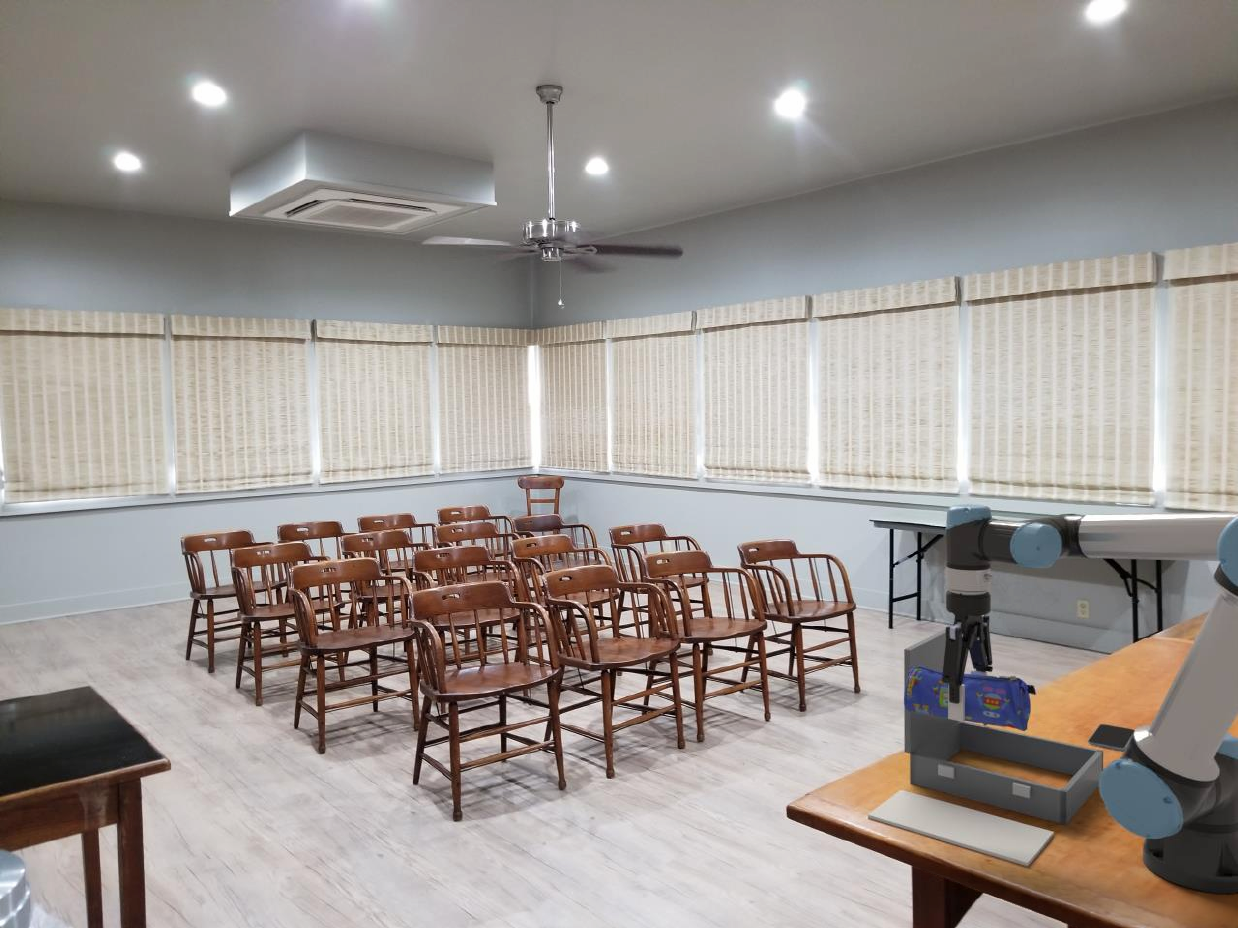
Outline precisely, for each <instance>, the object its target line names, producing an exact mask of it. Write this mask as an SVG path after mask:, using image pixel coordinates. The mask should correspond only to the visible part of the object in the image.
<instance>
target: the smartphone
mask: <svg viewBox="0 0 1238 928" xmlns="http://www.w3.org/2000/svg"><path fill="white" fill-rule="evenodd" d="M1135 730H1136V729H1133V728H1130V727H1122V726H1116V725H1111V724H1105V723H1100V724H1099V725H1098V726H1097V727H1096V729H1095V730H1094V731H1093V733H1092V734H1091V735H1090V737H1089V738H1088V740H1087V744H1088V743H1089V744H1091V745H1090V746H1092V745H1095V746H1094V747H1097V746H1100V747H1099V748H1102V747H1105V748H1104V749H1107V748H1109V749H1108V750H1112V749H1114V750H1113V751H1118V750H1119V751H1118V752H1124V751H1125V749H1126V747H1127V745H1128V743H1129V741H1130V739H1131V737H1132V735H1133V733H1134V731H1135ZM1089 744H1088V745H1089Z"/></svg>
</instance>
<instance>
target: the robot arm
mask: <svg viewBox="0 0 1238 928" xmlns="http://www.w3.org/2000/svg"><path fill="white" fill-rule="evenodd" d="M944 531H945V543H946V545H945V546H946V548H945V549H946V562H945V563H946V564H945V587H946V588H947V589H948V590H947V591H946V592H945V608H946V610H947V612H948V613H952V614H953V615H954V621H953V624H952V626H953V627H951V626H950V625H946V627H945V629H946V644H945V654H944V664H943V674H942V682H943V683H948V719H952V720H956V721H960V722H964V721H965V685H963V684H962V682H963V677H964V674H965V671H966V666H967V661H968V657H969V656H970V659H971V664H972V669H971V670H970V674H976V675H982V676H988V673H992V672H993V669H994V668H993V666H992V665H993V655H992V653H993V652H992V646H991V645H992V643H991V631H990V619H991V618H990V615H988V614H990V612H991V607H992V606H991V603H992V600H991V596H992V595H991V593H990V592H989V590H991V581H992V580H993V579H994V576H993V574H991V569H992V565H991V564H992V562H993V563H1000V564H1007V565H1014V566H1019V567H1025V568H1027V569H1034V568H1035V569H1048V568H1051V567H1052V566H1054V564H1055V563H1056V562H1057V561H1059V560H1060V559H1117V560H1118V559H1127V560H1160V561H1162V560H1163V561H1164V560H1165V561H1169V560H1170V561H1197V562H1199V561H1203V562H1209V561H1210V562H1219V564H1218V565H1217V567H1216V570H1215V572H1214V574H1213V576H1212V580H1213V582H1214V584H1215V586H1216V588H1217V590H1218V593H1217V596H1216V598H1215V599H1214V601H1213V604H1212V606H1211V607H1210V610H1209V611H1208V613H1207V614H1206V615H1207V616H1206V617H1205V619H1204V621H1203V623H1202V625H1201V627H1200V628H1199V631H1198V633H1197V635H1196V636H1195V638H1194V641H1193V643H1191V644H1192V645H1191V647H1190V648H1189V650H1188V652H1187V654H1186V656H1185V658H1184V660H1183V662H1182V664H1181V665H1180V667H1179V670H1178V671H1177V673H1176V676H1175V677H1174V679H1173V681H1172V683H1171V685H1170V687H1169V689H1168V690H1167V693H1166V695H1165V697H1164V699H1163V701H1162V703H1161V704H1160V706H1159V708H1158V710H1157V712H1156V715H1155V716H1154V718H1153V720H1152V721H1151V722H1152V723H1151V724H1147V725H1142V726H1141V725H1140V726H1138V727H1137V728H1136V729H1134V730H1135V731H1134V733H1133V735H1132V737H1131V739H1130V741H1129V743H1128V745H1127V747H1126V749H1125V751H1123V752H1122V755H1121V756H1120V757H1119V758H1118V759H1113V760H1112V761H1111V762H1109V763H1108V764H1107V765H1106V766H1105V767H1103V771H1102V773H1101V775H1100V778H1099V786H1098V791H1099V796H1100V798H1101V799H1102V801H1103V803H1104V806H1105V809H1106V811H1107V813H1108V814H1109V815H1110V816H1111V818H1113V820H1114V821H1115V822H1116V823H1118V825H1120V826H1121V827H1122V828H1123V829H1125V830H1126V831H1128V832H1130V833H1131V834H1133V835H1134V836H1135V835H1136V836H1137V837H1140V838H1143V839H1144V841H1143V845H1142V860H1143V861H1142V862H1143V863H1144V865H1145V866H1146V867H1147V868H1148V869H1149V870H1150V871H1151V872H1153V873H1154V874H1155V875H1158V876H1159V877H1160V878H1163V879H1164V880H1167V881H1168V882H1170V883H1173V884H1176V885H1177V886H1178V885H1179V886H1182V887H1184V888H1189V889H1192V890H1197V891H1201V892H1206V893H1212V894H1214V893H1215V894H1223V895H1225V894H1226V893H1230V894H1238V893H1237V892H1238V737H1236V736H1234V735H1233V734H1231V733H1229V730H1230V729H1231V728H1232V726H1233V724H1234V722H1235V720H1236V719H1237V716H1238V511H1221V512H1220V511H1219V512H1218V511H1217V512H1216V511H1214V512H1213V511H1212V512H1211V511H1210V512H1170V513H1169V512H1165V513H1164V512H1162V513H1161V512H1159V513H1156V512H1155V513H1119V514H1118V513H1116V514H1115V513H1114V514H1087V515H1085V514H1079V513H1061V514H1058V515H1054V516H1048V517H1041V518H1040V517H1039V518H1032V519H1024V520H1011V519H1009V520H1007V519H997V518H994V517H993V515H992V511H991V508H990V507H989V506H987V505H983V504H954V505H952V506H950V507H948V509H947V512H946V525H945V529H944ZM965 722H966V721H965Z"/></svg>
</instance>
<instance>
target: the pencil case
mask: <svg viewBox="0 0 1238 928" xmlns="http://www.w3.org/2000/svg"><path fill="white" fill-rule="evenodd" d="M942 674H943V672H940V671H936V670H932V669H930V668H927V667H924V666H917V667H916V668H913V669H912V670H911V671H910V672H909V673H908V678H907V682H906V686H905V691H903V694H904V695H903V706H905V709H906V710H907V711H909V712H915V713H919V714H926V715H933V716H939V717H944V718H948V683H943V682H942ZM962 684H963V685H965V722H969V723H974V724H988V726H989V725H990V726H996V727H1002V728H1003V727H1004V728H1007V727H1009V728H1012V729H1015V730H1019V731H1021V732H1025V731H1028V724H1029V720H1030V717H1031V710H1032V709H1031V708H1032V707H1031V706H1032V704H1031V696H1030V695H1034V696H1036V695H1037V692H1036V689H1035V685H1032V684H1027V683H1026V681H1024V680H1023V679H1021V677H1020V678H1019V677H1016V676H1015V675H1011V676H1007V675H1000V676H994V675H987V676H982V675H976V674H971V673H964V677H963V682H962Z"/></svg>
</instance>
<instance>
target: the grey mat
mask: <svg viewBox="0 0 1238 928" xmlns="http://www.w3.org/2000/svg"><path fill="white" fill-rule="evenodd" d="M867 818H868V819H871V820H874V821H878V822H881V823H885V824H888V825H890V826H894V827H897V828H900V829H903V830H907V831H910V832H914V833H916V834H919V835H922V836H927V837H929V838H933V839H937V840H938V841H939V840H940V841H943V842H946V843H948V844H949V843H950V844H952V845H955V846H959V847H962V848H965V849H969V850H972V851H975V852H979V853H982V854H986V855H988V856H991V857H996V858H998V859H1001V860H1005V861H1008V862H1011V863H1014V864H1018V865H1021V866H1024V867H1029V866H1030V865H1031V864H1032V863H1033V861H1034V859H1036V858H1037V857H1038V855H1039V854H1040V852H1042V850H1043V849H1044V848H1045V846H1047V844H1048V843H1049V842H1050V841H1051V839H1052V838H1053V837H1054V836H1055V832H1054V831H1051V830H1048V829H1044V828H1041V827H1037V826H1033V825H1030V824H1026V823H1022V822H1019V821H1016V820H1012V819H1008V818H1005V817H1000V816H997V815H994V814H990V813H986V812H983V811H979V810H976V809H971V808H969V807H966V806H962V805H958V804H957V805H956V804H954V803H951V802H946V801H944V800H939V799H936V798H933V797H929V796H925V795H921V794H918V793H914V792H909V791H907V790H903V789H900V790H899V791H897V792H896V793H895V794H893V795H892V796H891V797H889V798H888V799H887V800H885V801H884V802H882V803H881V804H880V805H879V806H878V807H876V808H875V809H873V810H872V811H871V812H870V813H868V814H867Z"/></svg>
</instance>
